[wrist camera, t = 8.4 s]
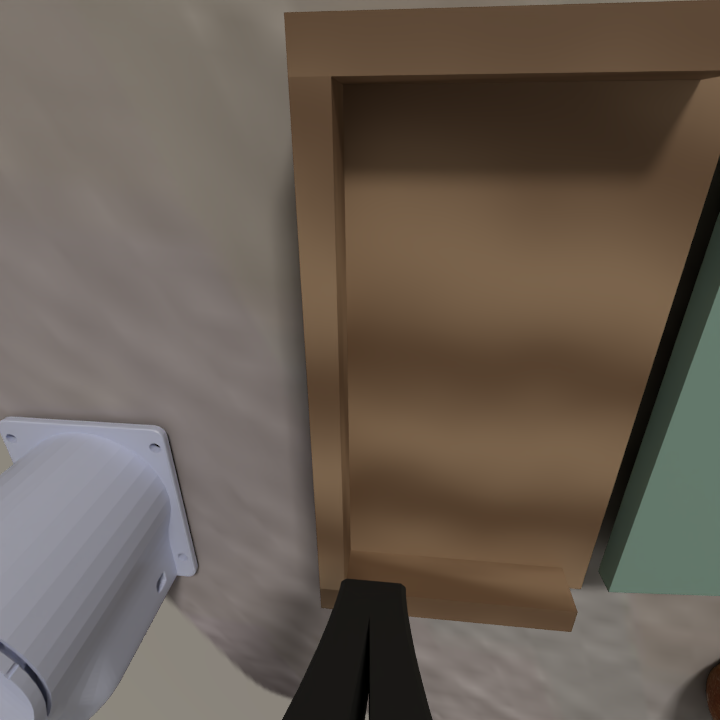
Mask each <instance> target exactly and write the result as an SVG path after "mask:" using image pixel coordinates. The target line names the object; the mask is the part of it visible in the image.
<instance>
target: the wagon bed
mask: <svg viewBox="0 0 720 720" xmlns="http://www.w3.org/2000/svg"><path fill="white" fill-rule="evenodd" d="M284 19H285V35H286V51H287V67H288V83H289V99H290V115H291V131H292V147H293V163H294V179H295V195H296V211H297V227H298V243H299V259H300V275H301V291H302V307H303V323H304V339H305V355H306V371H307V387H308V403H309V419H310V435H311V451H312V467H313V483H314V499H315V515H316V531H317V547H318V563H319V579H320V595H321V608H328V609H333V607H334V604H335V601H336V599H337V595H338V592H339V588H340V585H341V581H343V580H345V579H346V578H347V579H358V580H369V581H380V582H391V583H401V584H402V585H404V586H405V587H406V600H407V609H408V616H411V617H421V618H432V619H442V620H452V621H463V622H473V623H483V624H494V625H504V626H514V627H525V628H535V629H545V630H556V631H566V632H571V631H572V628H573V625H574V622H575V619H576V616H577V613H578V612H577V609H576V606H575V603H574V601H573V598H572V595H571V592H570V589H569V588H574V589H581V587H582V584H583V580H584V577H585V574H586V571H587V568H588V565H589V562H590V559H591V555H592V552H593V549H594V546H595V543H596V540H597V537H598V534H599V531H600V527H601V524H602V521H603V518H604V515H605V512H606V509H607V506H608V502H609V499H610V496H611V493H612V490H613V487H614V484H615V481H616V477H617V474H618V471H619V468H620V465H621V462H622V459H623V456H624V452H625V449H626V446H627V443H628V440H629V437H630V434H631V431H632V427H633V424H634V421H635V418H636V415H637V412H638V409H639V406H640V402H641V399H642V396H643V393H644V390H645V387H646V384H647V381H648V378H649V374H650V371H651V368H652V365H653V362H654V359H655V356H656V353H657V349H658V346H659V343H660V340H661V337H662V334H663V331H664V328H665V324H666V321H667V318H668V315H669V312H670V309H671V306H672V303H673V299H674V296H675V293H676V290H677V287H678V284H679V281H680V278H681V274H682V271H683V268H684V265H685V262H686V259H687V256H688V253H689V249H690V246H691V243H692V240H693V237H694V234H695V231H696V228H697V225H698V221H699V218H700V215H701V212H702V209H703V206H704V203H705V200H706V196H707V193H708V190H709V187H710V184H711V181H712V178H713V175H714V171H715V168H716V165H717V162H718V159H719V156H720V0H700V1H666V2H631V3H597V4H562V5H528V6H493V7H459V8H424V9H390V10H355V11H321V12H286V13H284Z"/></svg>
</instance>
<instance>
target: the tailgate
mask: <svg viewBox="0 0 720 720" xmlns="http://www.w3.org/2000/svg"><path fill="white" fill-rule="evenodd" d="M599 573H600V575H601V578H602V580H603V582H604V584H605V586H606V588H607V590H608V592H624V593H652V594H680V595H708V596H720V212H719V215H718V218H717V221H716V224H715V227H714V230H713V233H712V236H711V239H710V242H709V245H708V247H707V250H706V253H705V256H704V259H703V262H702V265H701V268H700V271H699V274H698V277H697V280H696V283H695V286H694V289H693V292H692V295H691V298H690V301H689V304H688V307H687V310H686V313H685V316H684V319H683V322H682V325H681V328H680V331H679V333H678V336H677V339H676V342H675V345H674V348H673V351H672V354H671V357H670V360H669V363H668V366H667V369H666V372H665V375H664V378H663V381H662V384H661V387H660V390H659V393H658V396H657V399H656V402H655V405H654V408H653V411H652V414H651V416H650V419H649V422H648V425H647V428H646V431H645V434H644V437H643V440H642V443H641V446H640V449H639V452H638V455H637V458H636V461H635V464H634V467H633V470H632V473H631V476H630V479H629V482H628V485H627V488H626V491H625V494H624V497H623V500H622V502H621V505H620V508H619V511H618V514H617V517H616V520H615V523H614V526H613V529H612V532H611V535H610V538H609V541H608V544H607V547H606V550H605V553H604V556H603V559H602V562H601V565H600V568H599Z"/></svg>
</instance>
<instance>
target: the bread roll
mask: <svg viewBox="0 0 720 720" xmlns="http://www.w3.org/2000/svg"><path fill="white" fill-rule="evenodd" d="M706 696H707V702H708V707H709V711H710V713H711V715H712V718H713V720H720V663H719V664H718V665H717V666H716V667H714V668H713V669H712V670H711V672H710V674H709V676H708V678H707V684H706Z"/></svg>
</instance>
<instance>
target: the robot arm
mask: <svg viewBox="0 0 720 720" xmlns="http://www.w3.org/2000/svg"><path fill="white" fill-rule="evenodd" d="M0 433H1V436H2V438H3V440H4V442H5V444H6V447H7V449H8V452H9V454H10V456H11V458H12V461H13V463H14V464H13V465H12V466H11V467H9V468H8V469H7V470H6V471H5V472H3V473H2V474H1V475H0V720H89V719H90V718H91V717H92V716H93V715H94V714H95V713H96V712H97V711H98V710H99V709H100V708H101V707H102V706H103V705H104V704H105V702H106V701H107V700H108V699H109V697H110V696H111V695H112V693H113V692H114V690H115V689H116V687H117V686H118V684H119V682H120V681H121V679H122V677H123V675H124V673H125V671H126V670H127V668H128V666H129V664H130V662H131V660H132V658H133V657H134V655H135V653H136V651H137V649H138V647H139V645H140V643H141V642H142V640H143V637H144V636H145V634H146V632H147V630H148V628H149V627H150V625H151V623H152V621H153V619H154V617H155V615H156V614H157V612H158V610H159V608H160V606H161V604H162V602H163V600H164V599H165V597H166V595H167V593H168V591H169V589H170V587H171V586H172V584H173V582H174V580H175V578H176V576H177V575H179V576H192V575H194V574H195V573H196V571H197V569H198V564H197V560H196V556H195V552H194V547H193V543H192V539H191V535H190V530H189V526H188V522H187V517H186V513H185V509H184V505H183V500H182V496H181V492H180V488H179V483H178V479H177V475H176V470H175V466H174V462H173V458H172V453H171V449H170V445H169V441H168V436H167V434H166V431H165V430H164V429H163V428H161V427H159V426H156V425H142V424H126V423H109V422H93V421H76V420H59V419H43V418H26V417H6V418H4V419H3V420H1V421H0ZM154 443H155V444H157V445H159V446H160V447H157V446H156V445H155V444H154ZM368 694H369V720H432V716H431V713H430V709H429V706H428V702H427V698H426V694H425V691H424V687H423V683H422V679H421V675H420V672H419V667H418V663H417V659H416V654H415V650H414V645H413V640H412V635H411V629H410V623H409V617H408V609H407V600H406V587H405V586H404V585H402V584H401V583H391V582H380V581H369V580H358V579H347V578H346V579H345V580H343V581H341V585H340V588H339V592H338V595H337V599H336V601H335V604H334V607H333V610H332V613H331V616H330V618H329V621H328V623H327V626H326V628H325V631H324V633H323V636H322V638H321V640H320V643H319V645H318V647H317V650H316V652H315V654H314V656H313V658H312V660H311V663H310V665H309V667H308V669H307V671H306V673H305V676H304V678H303V680H302V682H301V684H300V686H299V688H298V690H297V692H296V694H295V696H294V698H293V700H292V702H291V704H290V706H289V707H288V709H287V711H286V713H285V715H284V717H283V719H282V720H365V714H366V708H367V701H368Z"/></svg>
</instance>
